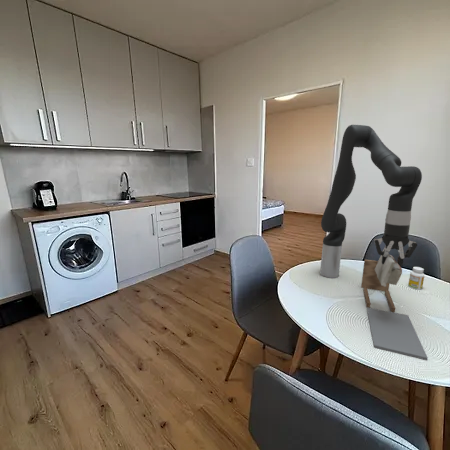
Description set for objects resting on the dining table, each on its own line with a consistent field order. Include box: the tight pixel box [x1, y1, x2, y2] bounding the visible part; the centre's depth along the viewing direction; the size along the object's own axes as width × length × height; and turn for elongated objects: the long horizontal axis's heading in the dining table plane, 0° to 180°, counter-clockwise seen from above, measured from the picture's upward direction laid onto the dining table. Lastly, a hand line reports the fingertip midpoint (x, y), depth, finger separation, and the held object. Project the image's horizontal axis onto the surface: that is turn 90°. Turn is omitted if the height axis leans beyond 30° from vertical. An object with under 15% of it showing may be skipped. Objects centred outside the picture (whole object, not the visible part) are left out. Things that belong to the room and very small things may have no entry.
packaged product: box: [375, 248, 403, 287], centre depth 97 cm, size 18×5×10 cm, turn 156°
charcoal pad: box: [366, 307, 428, 361], centre depth 89 cm, size 14×24×1 cm, turn 156°
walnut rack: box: [360, 259, 397, 313], centre depth 109 cm, size 11×20×14 cm, turn 156°
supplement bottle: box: [407, 266, 425, 291], centre depth 119 cm, size 5×5×10 cm
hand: (391, 266), depth 96 cm, fingers closed on packaged product, 4 cm apart
